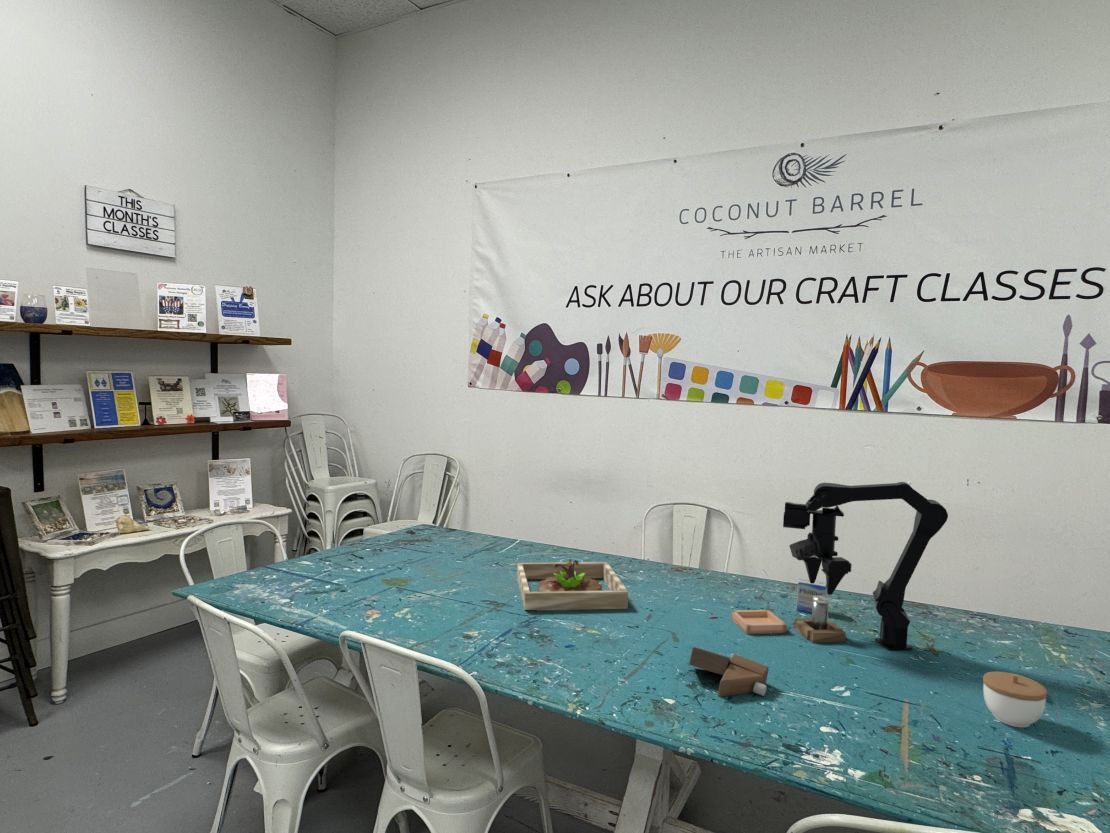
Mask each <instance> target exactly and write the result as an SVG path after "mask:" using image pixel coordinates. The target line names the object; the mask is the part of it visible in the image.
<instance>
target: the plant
mask: <svg viewBox="0 0 1110 833" xmlns="http://www.w3.org/2000/svg"><path fill="white" fill-rule="evenodd" d="M566 562H567V565H568V566H569V568H568V569H567V568H566V567H565V566H563V565H562V564H554V565H553V567H554V568H557V567H558V566H561V567H562V568H564V570H565V571H566V572H565V573H563V572H562V571H560V574H561V576H560V575H559V574H557V573H554V575H556V576H554V577H547V578H546V579H542V580H541V581H539V582H538V586H537V591H536V592H544V591H602V590H603V589H602V587H603V585H602V584H601V583H600V582H599V581H598V580H596V579H595V578H583V576H584V575H585V573H581V574H579V575H578V576H576V572H575V571H574V564H576V565H577V566H578V565H579V562H580V561H578V560H573V561H572V559H571V558H570V559H568V560H567V561H566ZM571 562H573V564H572V563H571Z"/></svg>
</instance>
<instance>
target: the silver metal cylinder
mask: <svg viewBox="0 0 1110 833" xmlns="http://www.w3.org/2000/svg"><path fill="white" fill-rule="evenodd" d="M829 605H830V598H829V597H828V596H827V597H825V596H819V595H816V596H813V605H812V613H811V618H812V622H811V628H813V629H814V630H827V626H828V620H829V608H830V606H829Z"/></svg>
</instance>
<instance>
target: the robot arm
mask: <svg viewBox="0 0 1110 833" xmlns="http://www.w3.org/2000/svg"><path fill="white" fill-rule="evenodd" d="M883 500H884V501H885V500H886V501H887V500H903V501H904V502H905V503H906V504H908V506H910V507H912V508H913V509H914V510H915V511H916V513H915V516H914V523H913V528H912V532H911V534H910V536H909V537H908V539H907V542H906V544H905V546H904V548H903V550H902V552H901V554H900V556H899V558H898V560H897V562H896V564H895V566H894V569H893V570H892V572H891V574H890V577H888V579H887V580H886V581H885V582H882V581H881V580H878V582H877V584H876V585H877V586H876V588H875V590H874V591H872V595H873V603H874V607H875V610H876V611H877V613H878V615H879V616H880V617H881V621H880V628H879V637H875V638H874V641H875V642H877V643H878V644H880V645H881V646H883V647H884V648H885V649H887V650H890V651H893V650H894V651H896V650H897V651H899V650H900V651H901V650H902V651H903V650H912V649H913V647H912V646H911V645H909V644H908V643H907V642H908V632H909V631H908V630H909V625H910V623H911V621H910V618H909V616H908V615H907V612H906V610H905V609H904V607H903V605H904V600H905V596H906V594H905V593H906V589H907V586H908V583H909V582H910V580H911V578H912V576H913V574H914V572H915V570H916V568H917V566H918V565H919V562H920V561H921V558H922V556H923V554H924V552H925V550H926V548H927V545H928V544H929V542H930V541H931V539H932V538H933V537H934V536H936V534H937V533H938V532H939V531H940V530H941V529H942V528H943V526H944V525H945V524H946V522H948V521H947V520H948V518H949V513H948V511H947V509H946V508H945V507H944V506H943V505H942V504H941V503H939V501H936V500H934V499H927V498H926V497H925V496H924V495H923V494H921V493H920V492H918V491H917V490H915V489H914V488H913V487H912V486H911V485H910V484H909V483H908V482H905V481H899V482H891V483H877V484H876V483H874V484H873V483H872V484H860V485H859V484H857V485H845V484H840V483H832V482H821V483H818V484H817V485H816V486H815V488H814V489H813V495H812V496H811V497H810V498H809V499H808V500H807V501H806V503H805V504H804V503H794V502H790V501H785V503H784V511H783V520H782V522H783V523H782V525H783V526H782V527H783V528H785V529H786V528H787V529H796V530H806V528H808V527H810V525H811V524H812V526H811V532H808V533H807V538H805V539H801V540H798V541H796V542H793V543H791V544H789V546H788V547H789V550H790V553H791V556H792V558H794V559H796V560H797V561H803V562H804V565H805V568H806V572H807V573H806V574H807V576H808V580H809V581H810V583H815V581H816V580H817V576H818V573H819V570H820V569H821V571H822V572H823V574H824V575H825V581H826V582H825V583H826V584H827V596H828V595H829V596H830V595H833V593H834V592H835V590H836V589H837V587H838V586H839V584H840V583H841V581H842V580H843V578H844V577H845V575H848V574H849V573H851V572H852V568H853V567H852V565H853V564H852V563H851V562H850V561H849V560H847V559H846V558H844V557H841V556H838V551H836V550H835V547H836V546H835V542H837V541H839V536H837V535H836V526H837V525H836V524H837V522H836V521H837V517H842V518H843V517H845V514H844V512H843V510H842V509H841V508H840V507H839V506H842V505H844V504H848V503H852V502H866V501H883ZM820 509H821V510H820ZM811 515H812V521H811ZM811 522H812V523H811ZM821 567H822V568H821Z"/></svg>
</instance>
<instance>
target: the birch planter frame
mask: <svg viewBox="0 0 1110 833" xmlns="http://www.w3.org/2000/svg"><path fill="white" fill-rule="evenodd" d="M573 562H574V561H572V562H571V563H572V564H573ZM578 562H579V565H578V566H577V565H576V564H574V571H575V572H576V576H578V575H579V574H581V573H585V575H584V576H583V578H588V579H603V580H604V582H605V584H606V585H607V586H608V588H609V589H608V590H603V589H602V591H544V592H537V591H530V588H529V584H528V580H545V579H546V578H547V577H554V576H556V575H554V573H557V574H559V575H560V576H561V574H560V571H562V572H563V573H565V572H566V571H565V570H564V568H562V567H561V566H558V567H557V568H554V567H553V565H554V564H562V565H563V566H565V567H566V568H567V569H568V568H569V566H568V565H567V561H566V562H564V561H561V562H560V561H559V562H555V561H554V562H517V563H516V564H517V565H516V580H517V583H518V584H517V585H518V588H520V589H519V593H520V592H521V593H520V597H521V596H522V597H521V601H522V600H523V601H522V604H523V609H525V610H537V611H570V610H571V611H572V610H574V611H575V610H578V611H580V610H581V611H582V610H583V611H584V610H620V609H621V610H623V609H625V610H626V609H628V607H629V590H628V589H627V588H626V586H625V585H624V584H623V582H622V581H621V579H620V578H619V577H618V575H617V574H616V573H615V572H614V570H613V569H612V567H611V566H610V564H609V563H608V562H607V561H584V562H583V561H578ZM525 610H524V611H525Z"/></svg>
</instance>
